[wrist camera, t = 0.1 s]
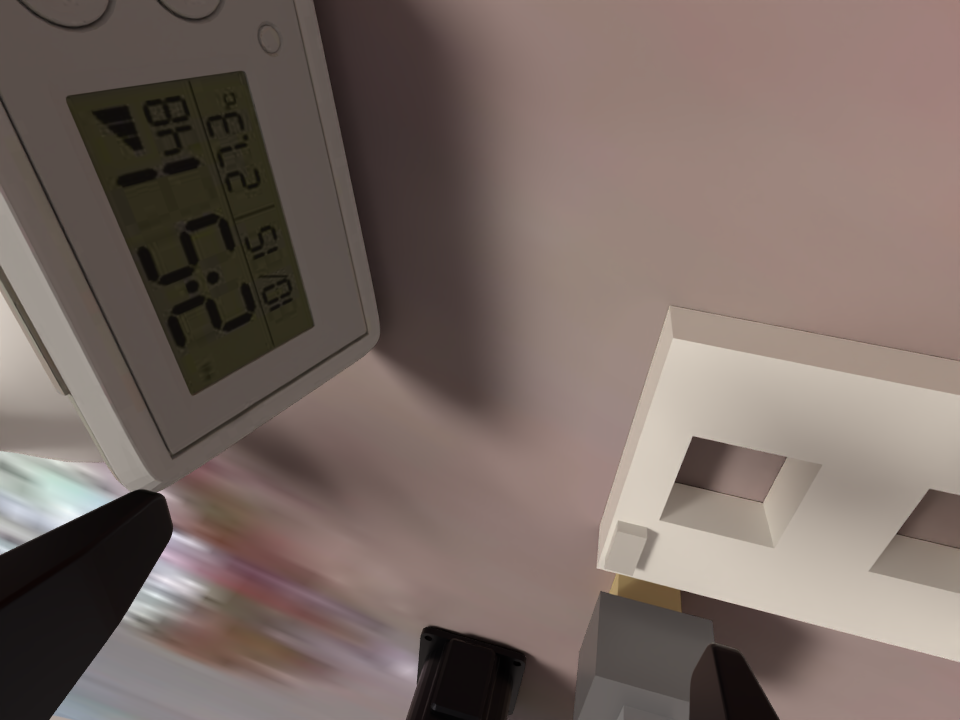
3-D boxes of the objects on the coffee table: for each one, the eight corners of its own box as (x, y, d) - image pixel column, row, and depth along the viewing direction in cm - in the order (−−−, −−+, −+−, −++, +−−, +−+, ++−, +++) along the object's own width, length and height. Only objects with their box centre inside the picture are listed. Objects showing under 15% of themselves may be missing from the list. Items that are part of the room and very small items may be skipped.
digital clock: (389, 357, 26) (258, 543, 17) (206, 318, 27) (-6, 472, 18) (395, -111, 17) (124, -240, 8) (122, -135, 18) (-373, -270, 9)
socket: (959, 615, 26) (995, 683, 23) (599, 525, 28) (595, 579, 25) (1161, 400, 19) (1242, 461, 16) (669, 305, 21) (674, 347, 19)
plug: (676, 634, 31) (686, 784, 25) (583, 608, 31) (570, 749, 25) (706, 574, 28) (724, 727, 22) (603, 548, 28) (594, 690, 23)
